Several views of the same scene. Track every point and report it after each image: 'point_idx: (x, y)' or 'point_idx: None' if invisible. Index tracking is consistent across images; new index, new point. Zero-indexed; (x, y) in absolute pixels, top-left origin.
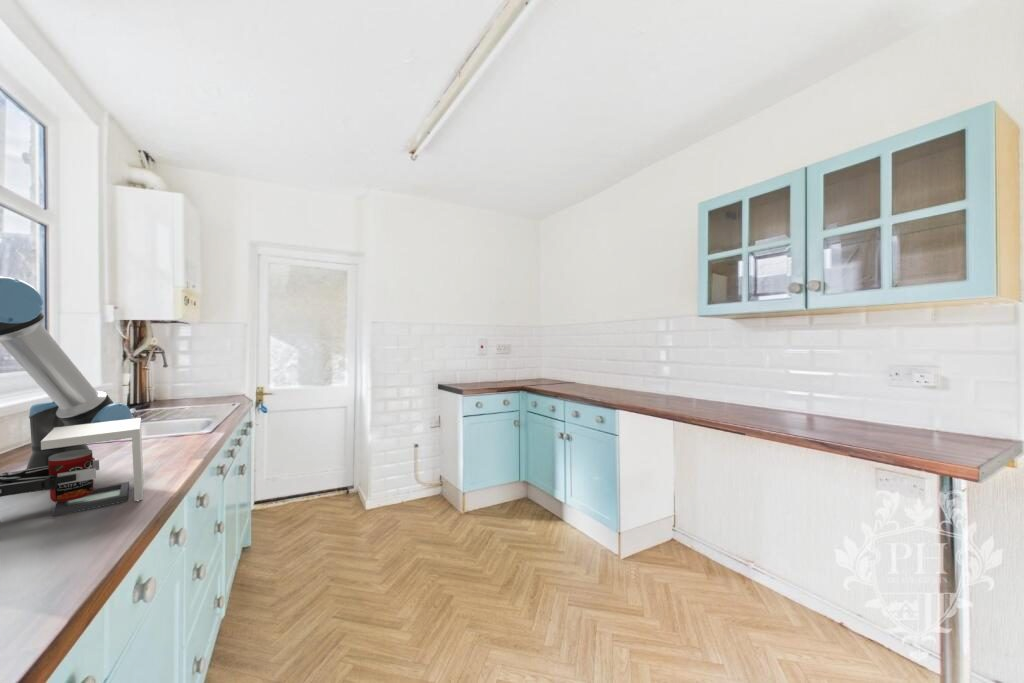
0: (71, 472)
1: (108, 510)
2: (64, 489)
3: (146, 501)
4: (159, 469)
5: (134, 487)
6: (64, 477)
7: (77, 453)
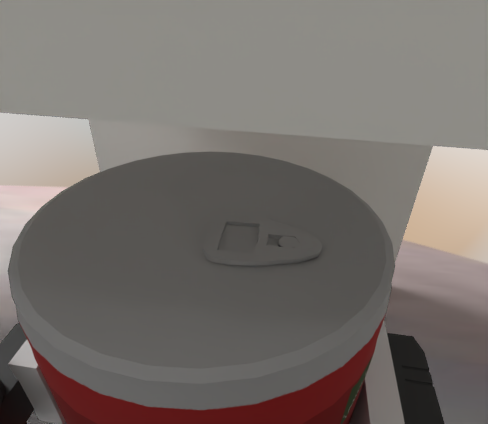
0: (388, 342)
1: (433, 369)
2: None
3: (397, 278)
4: (28, 212)
5: (396, 253)
6: (433, 400)
7: (189, 205)
